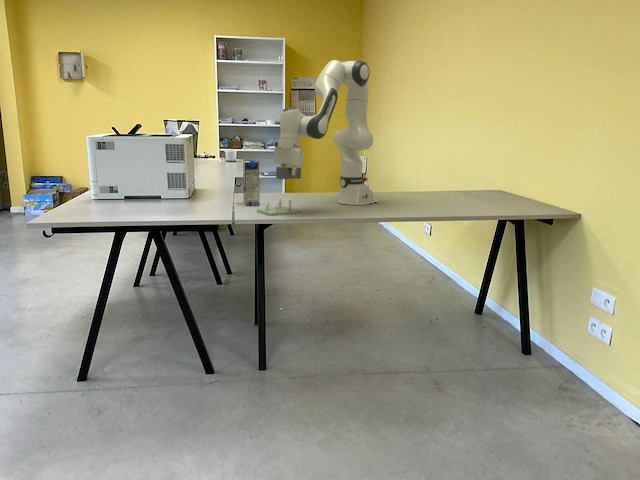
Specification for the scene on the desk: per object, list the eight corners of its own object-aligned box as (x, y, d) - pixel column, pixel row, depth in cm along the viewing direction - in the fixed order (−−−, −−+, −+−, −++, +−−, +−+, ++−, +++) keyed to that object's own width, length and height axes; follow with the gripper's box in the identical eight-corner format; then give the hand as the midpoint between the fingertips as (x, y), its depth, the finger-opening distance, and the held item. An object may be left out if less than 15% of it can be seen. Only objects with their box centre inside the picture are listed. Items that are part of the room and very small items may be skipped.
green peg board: (287, 208, 238) (287, 198, 237) (300, 212, 229) (300, 201, 228) (256, 211, 228) (256, 200, 227) (269, 216, 219) (269, 204, 218)
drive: (293, 177, 229) (294, 166, 228) (300, 178, 225) (301, 167, 223) (276, 177, 223) (276, 166, 222) (282, 179, 219) (283, 167, 217)
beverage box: (245, 206, 241) (245, 162, 236) (243, 202, 252) (243, 160, 246) (259, 206, 243) (259, 162, 238) (256, 202, 253) (256, 160, 248)
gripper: (308, 145, 214) (307, 176, 217) (282, 143, 230) (282, 172, 233) (296, 145, 210) (295, 177, 214) (271, 142, 226) (271, 172, 229)
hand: (288, 174), depth 223 cm, fingers closed on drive, 6 cm apart
